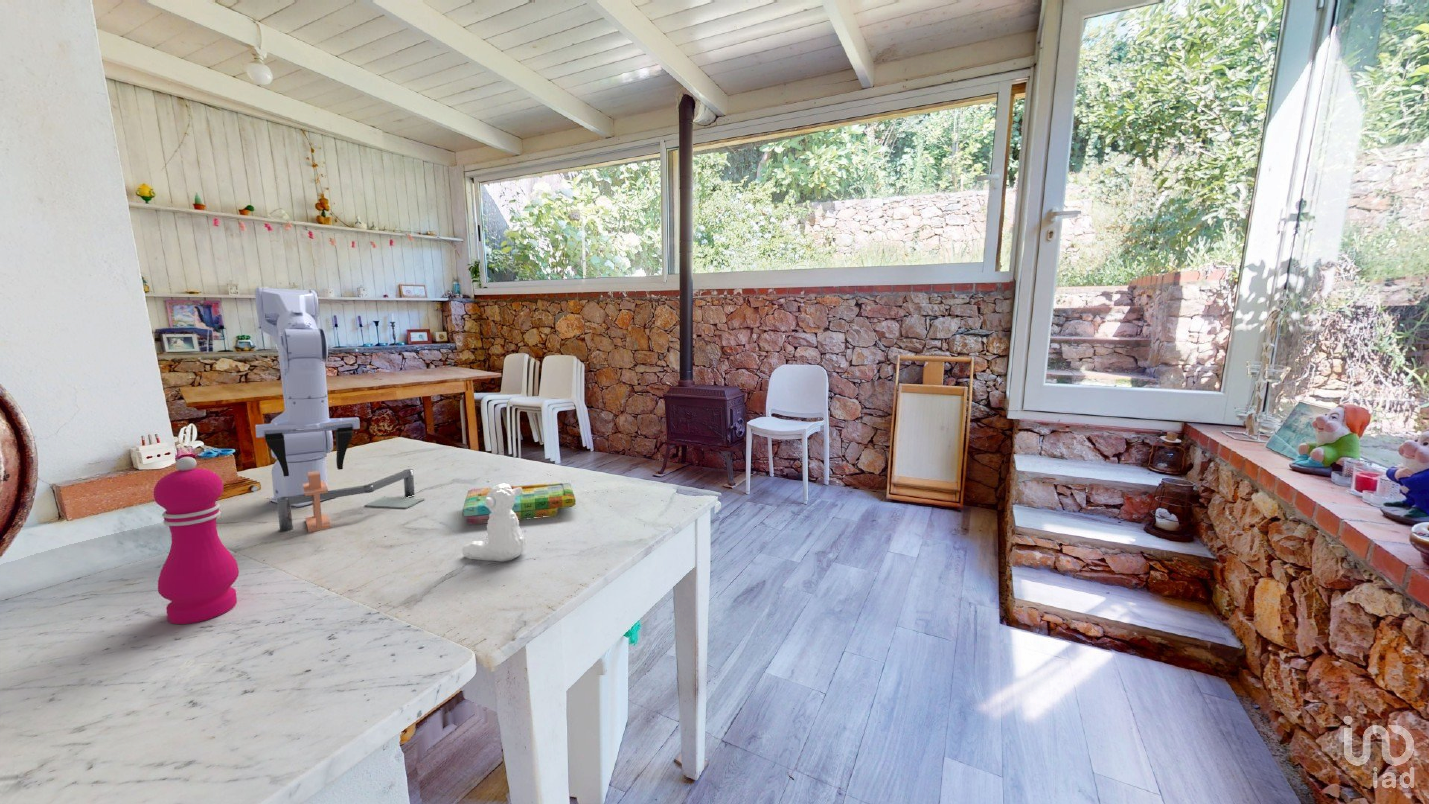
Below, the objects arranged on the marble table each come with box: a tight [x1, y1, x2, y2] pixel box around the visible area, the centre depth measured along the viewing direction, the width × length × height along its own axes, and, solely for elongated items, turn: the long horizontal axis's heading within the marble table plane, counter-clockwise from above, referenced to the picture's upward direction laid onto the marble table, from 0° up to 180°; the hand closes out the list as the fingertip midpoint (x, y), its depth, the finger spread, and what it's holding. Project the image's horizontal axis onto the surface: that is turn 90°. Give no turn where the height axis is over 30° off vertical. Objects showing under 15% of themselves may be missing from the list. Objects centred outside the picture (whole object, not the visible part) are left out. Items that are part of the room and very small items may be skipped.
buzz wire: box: [276, 468, 415, 533], centre depth 101 cm, size 8×24×6 cm, turn 160°
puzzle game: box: [462, 482, 576, 525], centre depth 103 cm, size 12×5×20 cm
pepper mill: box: [153, 456, 240, 625], centre depth 64 cm, size 7×7×20 cm
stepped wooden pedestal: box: [303, 471, 332, 533], centre depth 94 cm, size 3×7×10 cm, turn 41°
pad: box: [364, 496, 424, 510], centre depth 107 cm, size 6×9×1 cm, turn 85°
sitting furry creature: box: [461, 482, 526, 563], centre depth 83 cm, size 10×9×12 cm
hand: (313, 471), depth 93 cm, fingers open, 7 cm apart
